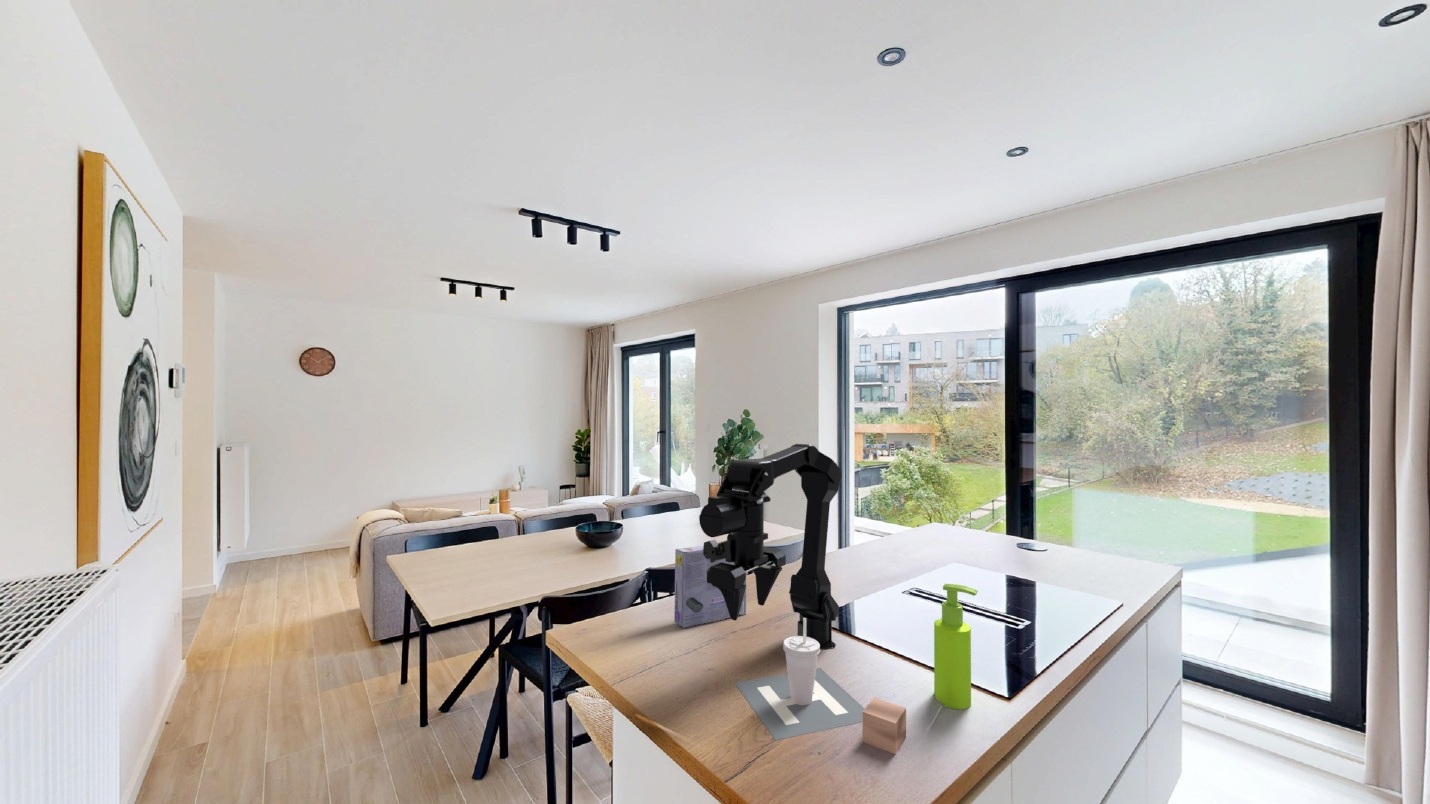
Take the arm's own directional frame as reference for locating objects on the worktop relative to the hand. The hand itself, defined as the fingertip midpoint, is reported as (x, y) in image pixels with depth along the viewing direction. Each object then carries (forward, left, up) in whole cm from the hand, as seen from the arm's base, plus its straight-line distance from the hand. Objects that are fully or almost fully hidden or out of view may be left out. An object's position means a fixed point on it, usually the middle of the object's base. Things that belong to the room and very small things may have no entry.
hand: (747, 612), depth 99 cm
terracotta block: (-13, +23, -13) cm, 30 cm away
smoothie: (-6, +9, -13) cm, 17 cm away
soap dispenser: (-32, +17, -13) cm, 39 cm away
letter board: (-6, +9, -13) cm, 17 cm away
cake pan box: (-3, -31, -13) cm, 34 cm away
